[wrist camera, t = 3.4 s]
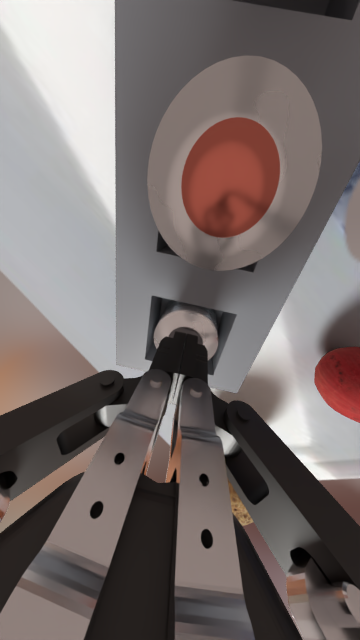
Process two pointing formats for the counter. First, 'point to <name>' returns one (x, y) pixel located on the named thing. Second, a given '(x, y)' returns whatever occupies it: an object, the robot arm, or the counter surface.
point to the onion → (340, 381)
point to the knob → (188, 324)
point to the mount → (139, 131)
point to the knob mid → (234, 163)
